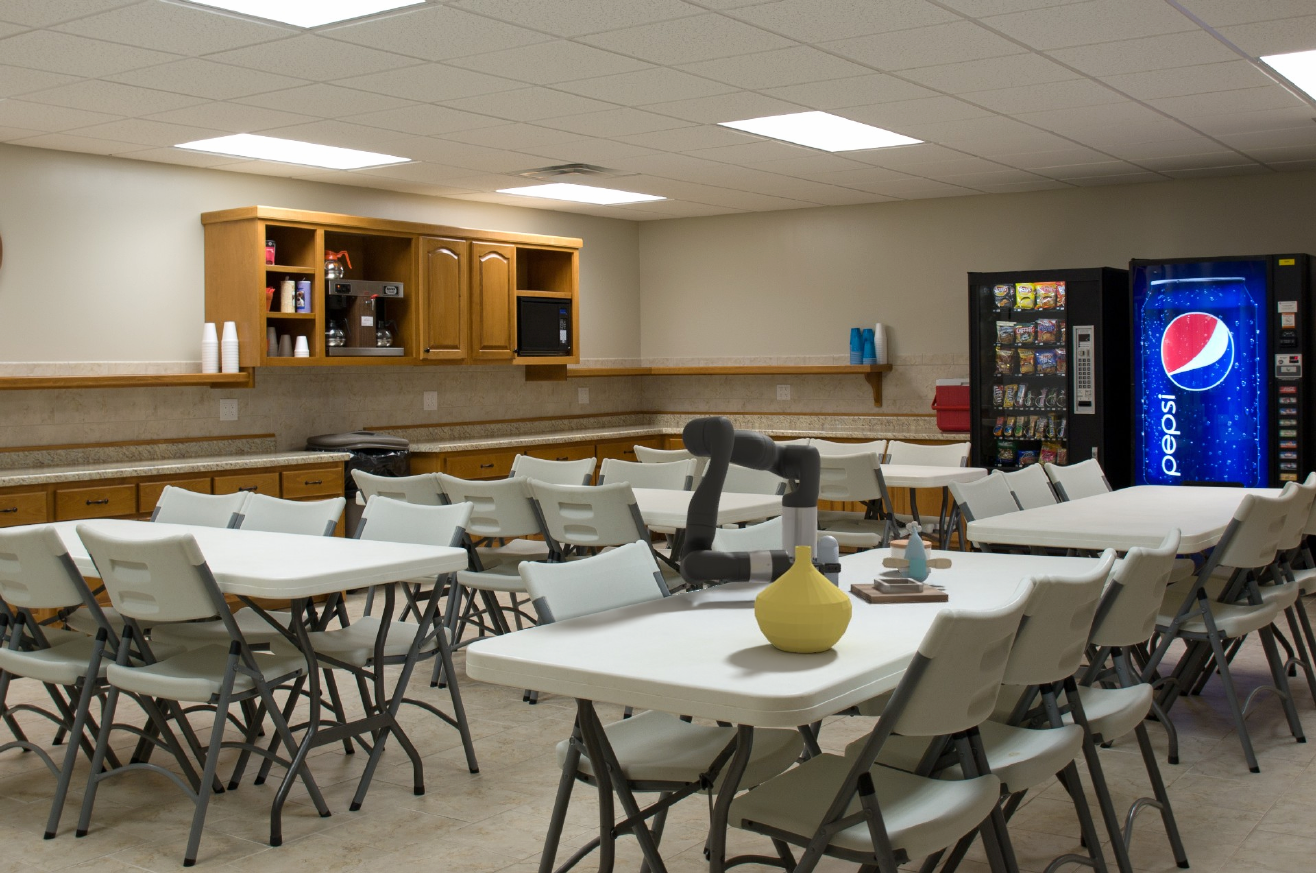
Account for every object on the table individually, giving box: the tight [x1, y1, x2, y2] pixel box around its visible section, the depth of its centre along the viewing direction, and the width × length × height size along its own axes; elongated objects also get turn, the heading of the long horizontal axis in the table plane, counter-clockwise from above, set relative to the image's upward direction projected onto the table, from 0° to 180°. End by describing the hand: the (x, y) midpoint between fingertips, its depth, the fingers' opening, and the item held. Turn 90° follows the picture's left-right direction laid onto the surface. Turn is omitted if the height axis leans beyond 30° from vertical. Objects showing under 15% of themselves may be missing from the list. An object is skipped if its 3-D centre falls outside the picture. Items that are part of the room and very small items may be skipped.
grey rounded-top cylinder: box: [817, 535, 840, 588], centre depth 289 cm, size 5×5×14 cm
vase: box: [753, 546, 853, 654], centre depth 235 cm, size 18×18×19 cm
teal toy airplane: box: [881, 521, 953, 583], centre depth 309 cm, size 17×10×15 cm, turn 84°
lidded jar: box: [889, 535, 932, 573], centre depth 328 cm, size 11×11×9 cm
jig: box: [850, 577, 949, 604], centre depth 291 cm, size 17×18×3 cm
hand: (835, 565), depth 289 cm, fingers open, 8 cm apart
